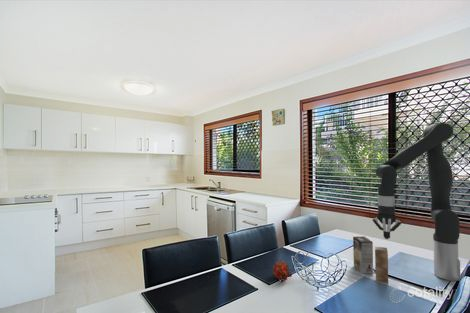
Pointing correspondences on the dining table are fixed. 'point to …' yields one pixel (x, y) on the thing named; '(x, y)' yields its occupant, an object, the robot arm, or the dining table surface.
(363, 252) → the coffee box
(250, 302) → the dining table surface
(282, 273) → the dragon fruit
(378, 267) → the walnut pillar
